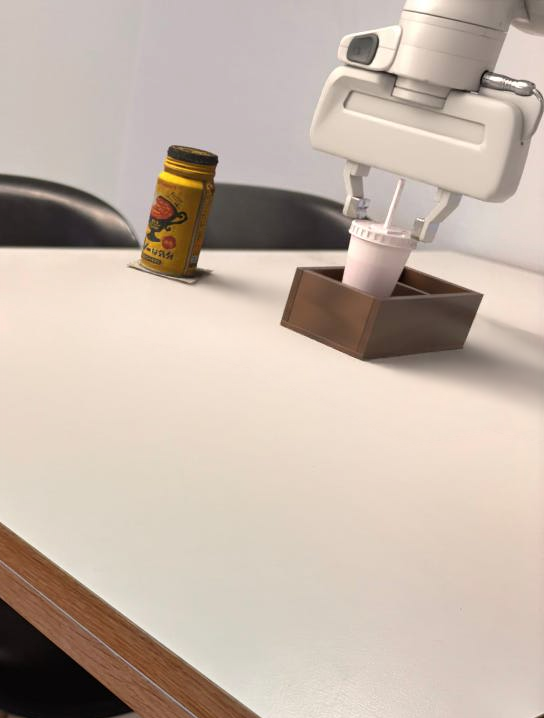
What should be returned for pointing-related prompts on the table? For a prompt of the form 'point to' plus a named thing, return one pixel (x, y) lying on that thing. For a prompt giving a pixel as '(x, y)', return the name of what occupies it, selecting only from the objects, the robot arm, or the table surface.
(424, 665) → the table surface
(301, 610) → the table surface
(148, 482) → the table surface
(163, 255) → the condiment
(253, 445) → the table surface
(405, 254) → the smoothie
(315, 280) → the box
